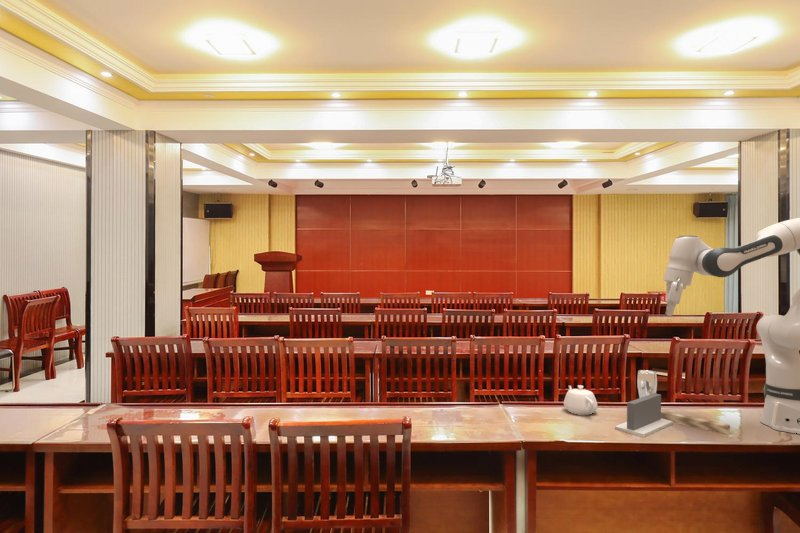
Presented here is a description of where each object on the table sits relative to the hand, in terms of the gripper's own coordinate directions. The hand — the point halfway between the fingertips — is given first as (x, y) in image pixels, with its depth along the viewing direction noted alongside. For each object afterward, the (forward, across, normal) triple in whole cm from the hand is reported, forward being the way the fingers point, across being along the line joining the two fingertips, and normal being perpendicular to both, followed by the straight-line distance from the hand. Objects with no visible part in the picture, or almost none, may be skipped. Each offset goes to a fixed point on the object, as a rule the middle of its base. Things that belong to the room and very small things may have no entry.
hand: (668, 315), depth 180 cm
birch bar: (+37, +1, -15) cm, 40 cm away
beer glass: (+39, +14, -2) cm, 41 cm away
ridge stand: (+40, -8, -1) cm, 41 cm away
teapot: (+45, 0, +21) cm, 49 cm away
